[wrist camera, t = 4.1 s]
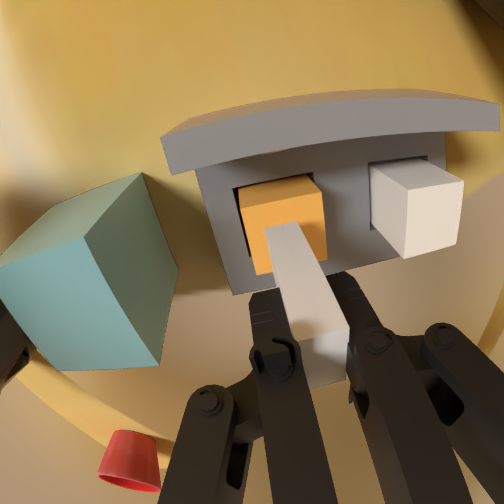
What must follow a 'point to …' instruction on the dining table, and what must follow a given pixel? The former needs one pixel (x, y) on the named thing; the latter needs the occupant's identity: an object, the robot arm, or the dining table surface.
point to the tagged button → (282, 214)
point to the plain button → (414, 205)
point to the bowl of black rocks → (493, 10)
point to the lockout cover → (93, 280)
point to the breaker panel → (316, 161)
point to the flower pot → (131, 462)
